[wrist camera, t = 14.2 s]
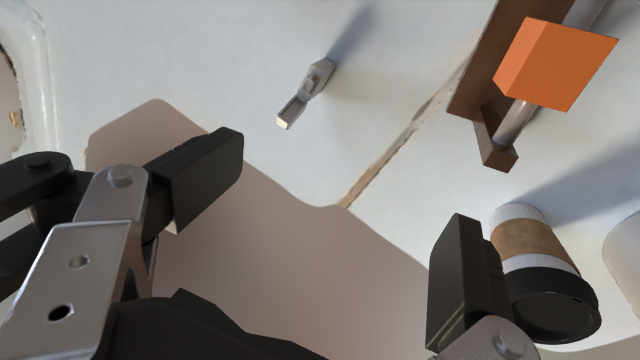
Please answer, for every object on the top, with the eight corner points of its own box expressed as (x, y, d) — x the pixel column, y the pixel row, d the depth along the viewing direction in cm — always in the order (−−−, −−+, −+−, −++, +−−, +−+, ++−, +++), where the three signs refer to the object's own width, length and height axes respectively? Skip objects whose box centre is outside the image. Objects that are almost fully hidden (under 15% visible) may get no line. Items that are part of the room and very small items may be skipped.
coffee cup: (572, 210, 36) (637, 319, 24) (526, 255, 41) (561, 364, 28) (502, 183, 37) (530, 274, 25) (466, 229, 42) (475, 324, 30)
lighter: (324, 57, 36) (298, 70, 30) (335, 65, 36) (312, 79, 30) (299, 103, 41) (272, 123, 34) (309, 110, 41) (284, 132, 34)
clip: (492, 79, 26) (504, 95, 22) (525, 16, 23) (547, 21, 19) (543, 93, 26) (566, 113, 21) (585, 30, 23) (620, 39, 19)
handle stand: (445, 109, 35) (446, 153, 25) (527, -65, 26) (579, -102, 16) (516, 131, 33) (546, 186, 24) (629, -44, 24) (755, -71, 14)
